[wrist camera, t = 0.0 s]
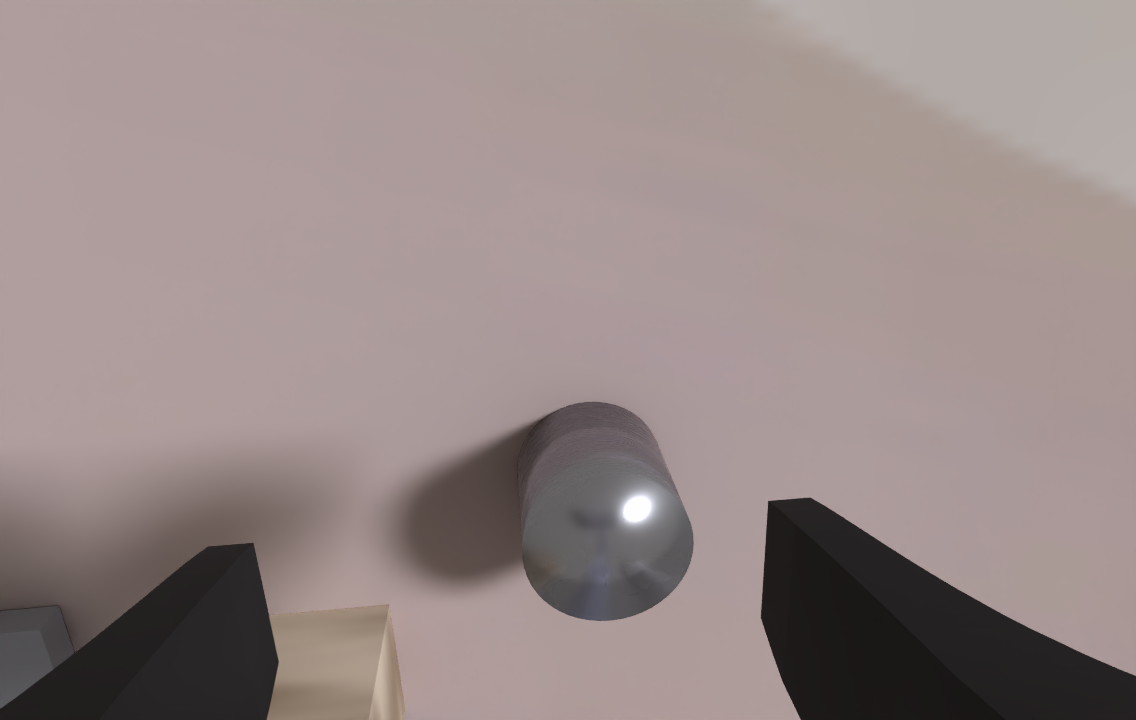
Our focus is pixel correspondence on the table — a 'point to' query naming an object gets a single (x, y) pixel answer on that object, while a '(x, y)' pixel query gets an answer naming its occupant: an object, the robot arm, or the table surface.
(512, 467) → the table surface
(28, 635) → the charcoal mat
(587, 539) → the dark metal cylinder
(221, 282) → the table surface
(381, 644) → the pale birch block
